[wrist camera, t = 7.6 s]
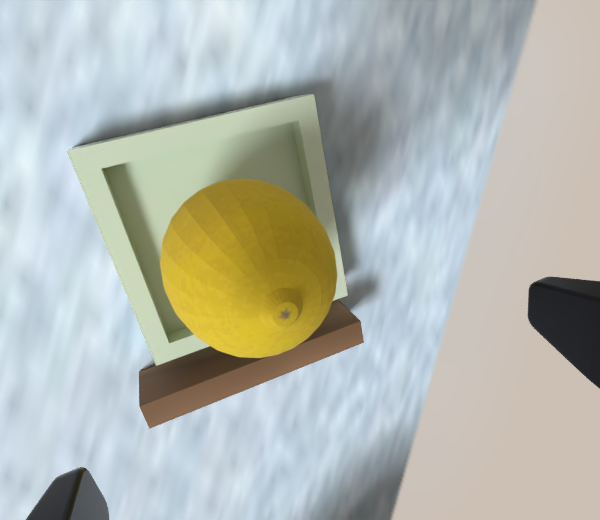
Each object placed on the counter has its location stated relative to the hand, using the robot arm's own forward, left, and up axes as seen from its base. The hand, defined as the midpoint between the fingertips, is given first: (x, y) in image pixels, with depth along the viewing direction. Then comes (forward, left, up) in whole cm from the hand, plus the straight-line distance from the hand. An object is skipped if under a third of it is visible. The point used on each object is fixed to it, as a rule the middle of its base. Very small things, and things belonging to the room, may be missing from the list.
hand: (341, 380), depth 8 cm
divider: (-6, +1, -12) cm, 13 cm away
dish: (0, 0, -12) cm, 12 cm away
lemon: (0, 0, -11) cm, 11 cm away
